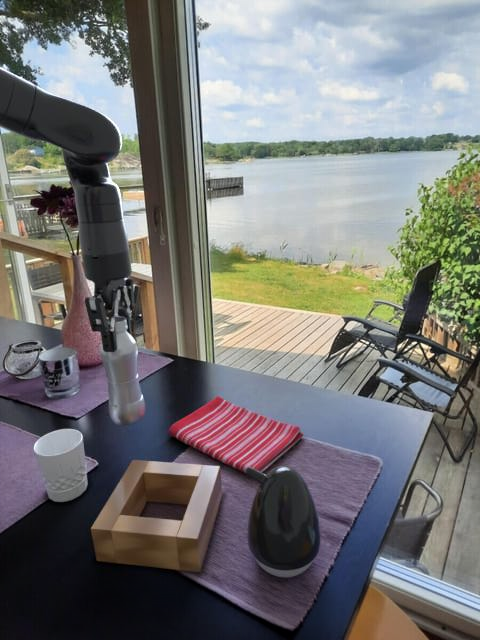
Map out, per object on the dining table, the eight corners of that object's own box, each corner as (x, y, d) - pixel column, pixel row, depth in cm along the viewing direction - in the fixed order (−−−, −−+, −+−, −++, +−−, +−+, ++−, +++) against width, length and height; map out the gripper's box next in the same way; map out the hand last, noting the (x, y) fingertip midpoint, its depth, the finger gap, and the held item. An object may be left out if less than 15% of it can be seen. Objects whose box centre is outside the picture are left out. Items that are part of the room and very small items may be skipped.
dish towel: (219, 403, 105) (218, 393, 105) (304, 436, 91) (305, 425, 90) (165, 437, 93) (164, 426, 92) (255, 482, 79) (254, 469, 78)
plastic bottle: (152, 422, 82) (141, 320, 75) (117, 434, 78) (101, 328, 72) (139, 407, 87) (127, 311, 80) (105, 419, 83) (90, 319, 77)
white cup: (70, 509, 74) (60, 459, 71) (34, 499, 77) (22, 450, 73) (100, 479, 81) (92, 432, 78) (65, 471, 84) (56, 425, 80)
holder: (96, 561, 64) (90, 528, 62) (136, 487, 78) (132, 459, 76) (200, 572, 61) (197, 539, 59) (222, 495, 76) (220, 465, 74)
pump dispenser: (261, 523, 70) (259, 441, 65) (326, 542, 66) (329, 456, 61) (235, 576, 61) (231, 486, 56) (309, 601, 57) (311, 506, 52)
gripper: (103, 241, 79) (115, 329, 85) (60, 257, 66) (78, 360, 71) (143, 241, 78) (152, 330, 84) (107, 257, 65) (121, 361, 70)
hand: (118, 343), depth 77 cm, fingers closed on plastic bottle, 6 cm apart
